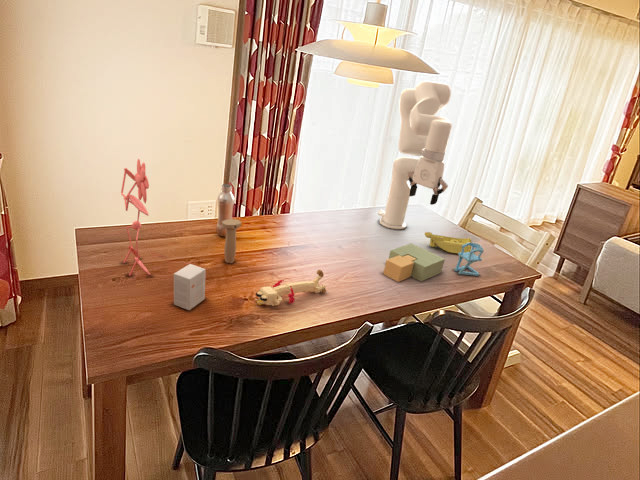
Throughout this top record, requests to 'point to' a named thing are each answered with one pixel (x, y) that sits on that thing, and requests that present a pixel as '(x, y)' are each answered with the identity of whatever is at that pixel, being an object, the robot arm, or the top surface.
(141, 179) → the figurine
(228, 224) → the handle
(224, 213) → the plastic bottle
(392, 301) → the top surface
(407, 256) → the tan rectangular block
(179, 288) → the small box
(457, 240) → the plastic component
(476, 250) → the chair
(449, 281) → the top surface
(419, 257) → the notch pad
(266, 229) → the top surface
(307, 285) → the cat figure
